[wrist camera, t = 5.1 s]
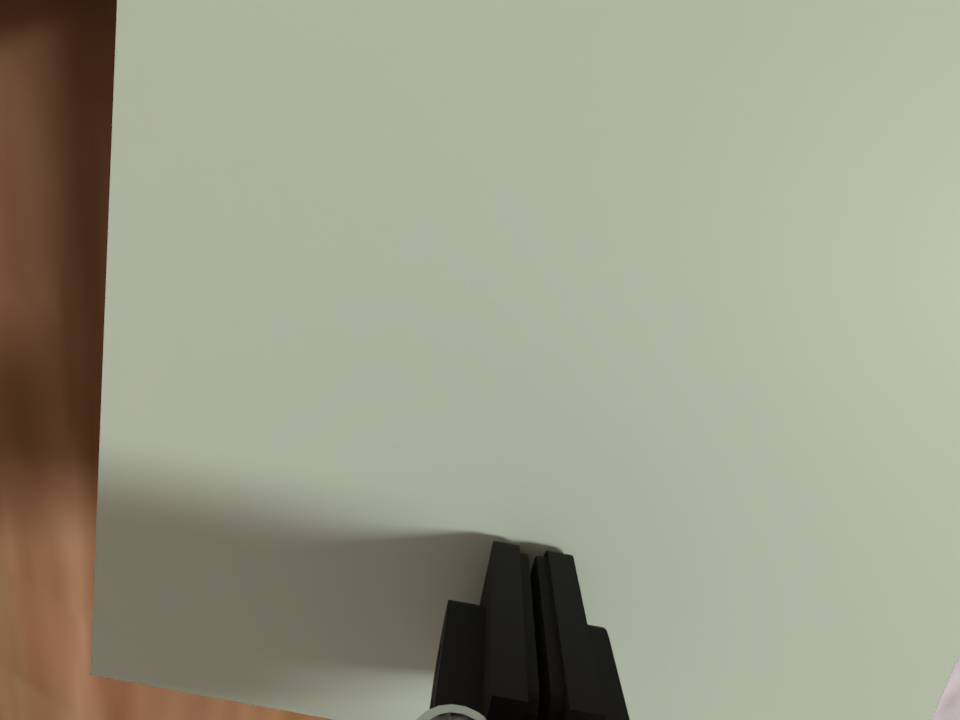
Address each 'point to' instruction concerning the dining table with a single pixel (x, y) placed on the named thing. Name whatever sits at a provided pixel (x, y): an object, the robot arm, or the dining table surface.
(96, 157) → the dining table surface
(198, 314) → the box lid
